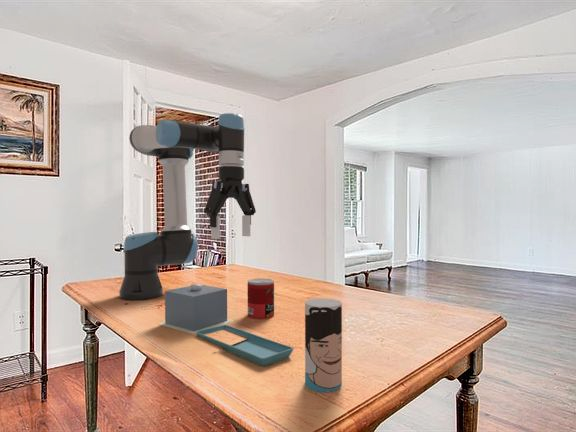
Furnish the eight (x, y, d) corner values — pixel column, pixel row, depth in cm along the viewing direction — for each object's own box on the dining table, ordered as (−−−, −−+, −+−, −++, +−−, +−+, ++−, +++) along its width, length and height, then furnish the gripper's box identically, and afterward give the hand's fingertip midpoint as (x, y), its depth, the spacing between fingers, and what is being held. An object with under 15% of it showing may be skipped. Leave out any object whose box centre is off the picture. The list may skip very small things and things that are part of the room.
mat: (157, 325, 108) (157, 323, 108) (199, 314, 120) (199, 312, 120) (193, 336, 99) (193, 333, 99) (234, 322, 111) (234, 320, 111)
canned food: (270, 321, 112) (270, 283, 111) (244, 320, 113) (244, 282, 113) (276, 314, 119) (276, 278, 119) (251, 313, 121) (251, 277, 120)
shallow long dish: (194, 340, 97) (194, 330, 97) (225, 332, 104) (225, 322, 104) (262, 371, 78) (262, 358, 78) (294, 359, 85) (294, 347, 85)
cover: (165, 323, 108) (164, 285, 108) (198, 314, 118) (198, 279, 117) (193, 331, 101) (193, 290, 101) (227, 320, 110) (227, 283, 110)
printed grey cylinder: (307, 392, 68) (307, 307, 68) (303, 376, 75) (303, 298, 75) (345, 391, 69) (345, 306, 68) (338, 375, 75) (338, 298, 75)
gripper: (210, 161, 104) (210, 240, 105) (266, 169, 125) (266, 235, 125) (190, 163, 109) (191, 239, 109) (248, 170, 129) (248, 234, 130)
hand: (231, 237), depth 117 cm, fingers open, 13 cm apart
